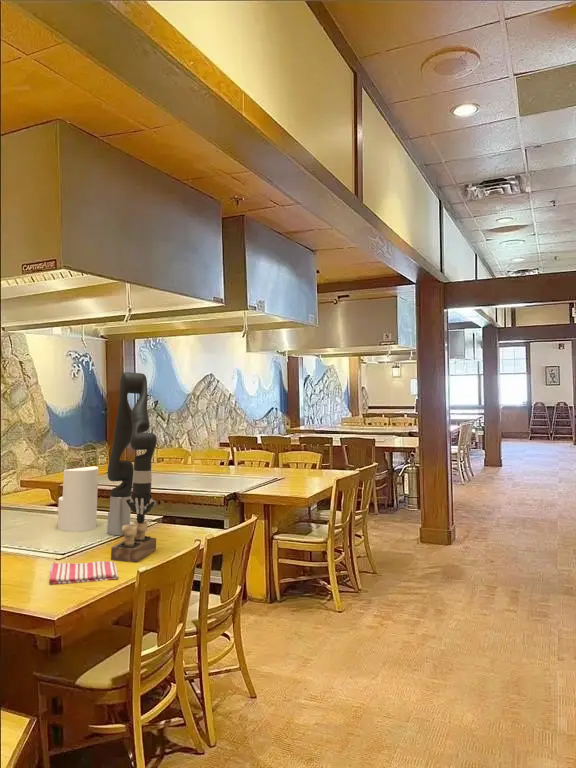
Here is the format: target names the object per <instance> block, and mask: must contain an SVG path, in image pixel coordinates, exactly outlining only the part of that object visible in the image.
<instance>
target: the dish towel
mask: <svg viewBox="0 0 576 768" xmlns="http://www.w3.org/2000/svg"><path fill="white" fill-rule="evenodd" d="M48 576H49V577H48V578H49V581H48V582H51V585H68V584H80V583H90V582H104V581H103V580H107V581H111V580H110V579H114V580H117V579H118V578H119V574H118V569H117V565H116V563H115V562H114V561H105V560H103V561H102V560H101V561H92V562H86V563H83V562H82V563H79V562H77V563H68V562H65V563H61V562H59V563H58V562H53V561H52V563H51V564H50V567H49V575H48Z"/></svg>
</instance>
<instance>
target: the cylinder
mask: <svg viewBox="0 0 576 768" xmlns="http://www.w3.org/2000/svg"><path fill="white" fill-rule="evenodd" d="M62 479H63V480H62V482H63V483H62V496H60V497H58V509H57V510H58V511H57V529H58V530H59V531H61V532H69V533H70V532H71V533H73V532H74V533H76V532H77V533H78V532H79V533H81V532H87V531H92V530H94V529H96V528H97V520H98V519H97V518H98V517H97V512H98V488H99V487H98V486H99V467H98V466H95V465H93V466H84V467H75V468H69V469H64V470H63V477H62Z"/></svg>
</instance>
